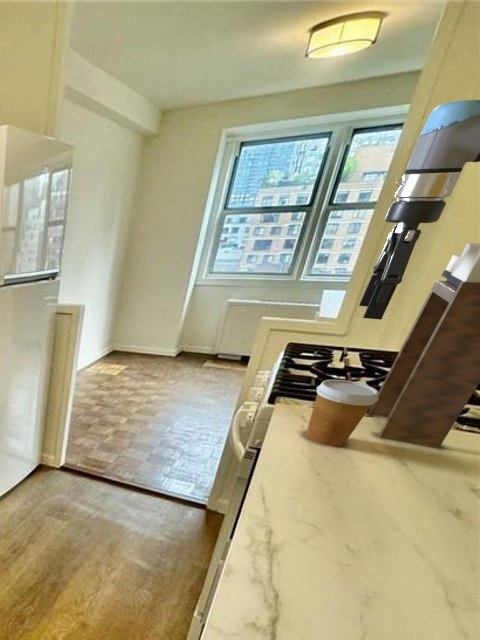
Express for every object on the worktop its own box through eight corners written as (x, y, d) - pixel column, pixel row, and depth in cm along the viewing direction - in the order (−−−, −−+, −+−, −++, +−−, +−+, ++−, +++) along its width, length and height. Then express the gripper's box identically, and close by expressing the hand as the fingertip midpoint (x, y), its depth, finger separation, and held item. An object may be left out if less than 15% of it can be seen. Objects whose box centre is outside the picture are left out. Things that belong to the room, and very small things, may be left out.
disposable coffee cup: (361, 443, 101) (390, 389, 95) (341, 455, 97) (369, 399, 91) (308, 426, 108) (331, 375, 103) (287, 436, 104) (310, 384, 98)
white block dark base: (476, 277, 102) (496, 240, 98) (506, 291, 89) (531, 249, 85) (436, 275, 105) (454, 239, 101) (459, 288, 92) (481, 248, 88)
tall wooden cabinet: (420, 421, 110) (506, 273, 94) (438, 449, 98) (538, 286, 83) (367, 412, 114) (440, 270, 99) (378, 438, 103) (463, 282, 87)
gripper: (386, 198, 103) (343, 300, 113) (400, 202, 86) (348, 321, 96) (436, 197, 99) (387, 303, 109) (461, 201, 82) (401, 326, 92)
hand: (369, 312), depth 102 cm, fingers open, 13 cm apart
